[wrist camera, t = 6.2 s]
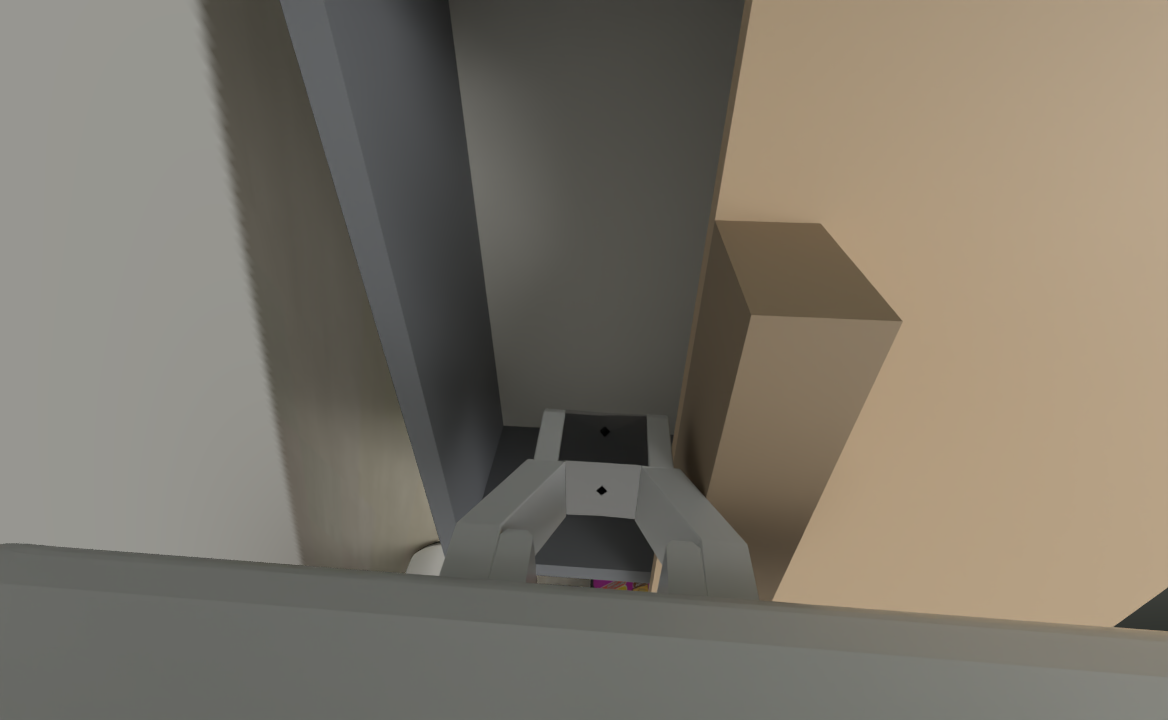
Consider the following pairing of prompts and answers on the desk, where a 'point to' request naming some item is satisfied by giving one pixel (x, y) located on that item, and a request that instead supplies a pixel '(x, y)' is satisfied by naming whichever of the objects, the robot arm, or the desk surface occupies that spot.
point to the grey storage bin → (524, 219)
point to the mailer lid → (940, 308)
